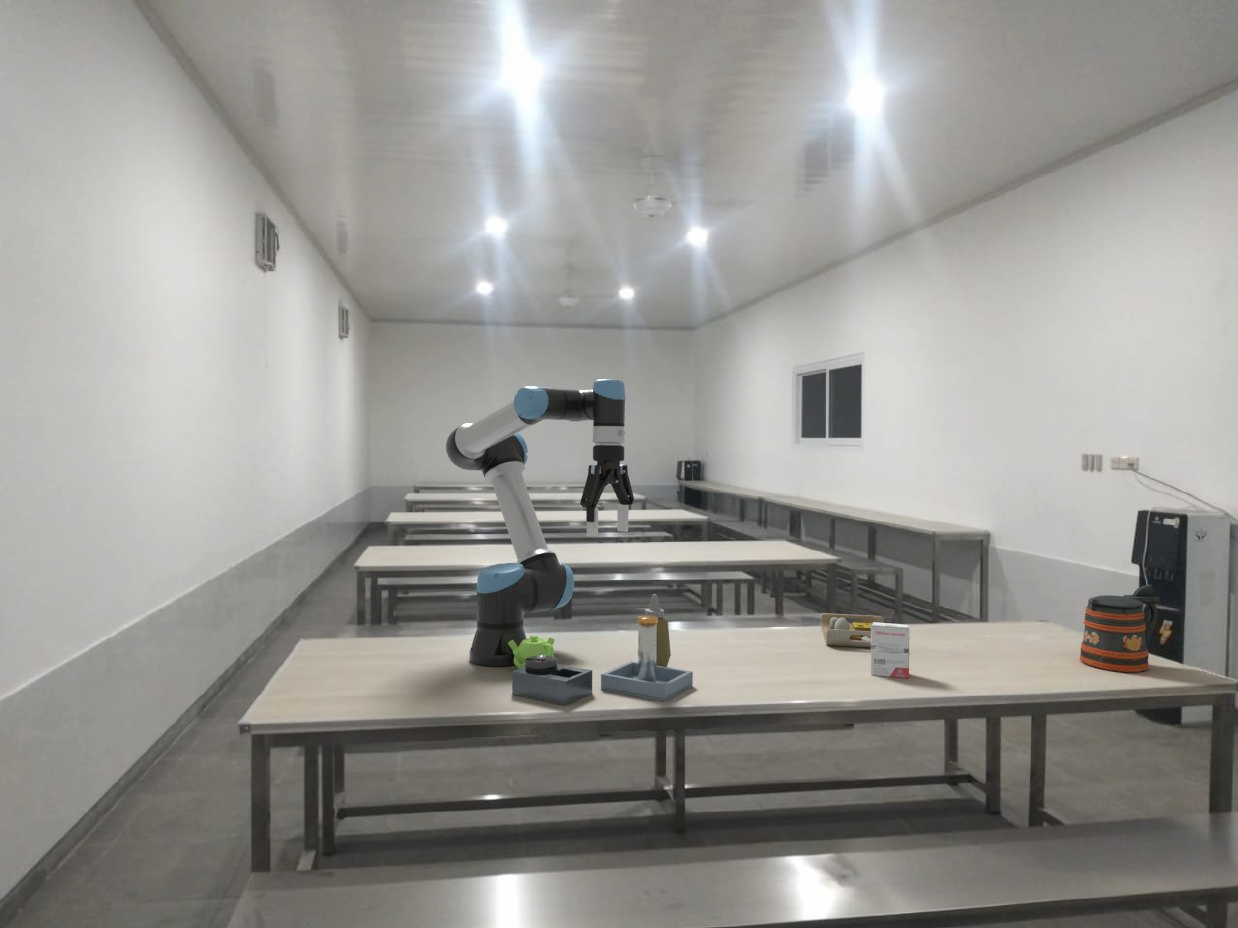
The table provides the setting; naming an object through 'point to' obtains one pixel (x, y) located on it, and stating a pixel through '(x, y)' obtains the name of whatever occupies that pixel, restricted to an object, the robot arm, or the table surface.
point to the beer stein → (1119, 631)
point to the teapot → (531, 649)
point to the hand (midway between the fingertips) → (608, 533)
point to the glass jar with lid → (647, 648)
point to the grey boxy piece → (551, 681)
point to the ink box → (890, 650)
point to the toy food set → (848, 629)
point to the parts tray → (647, 682)
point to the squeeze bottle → (660, 632)
